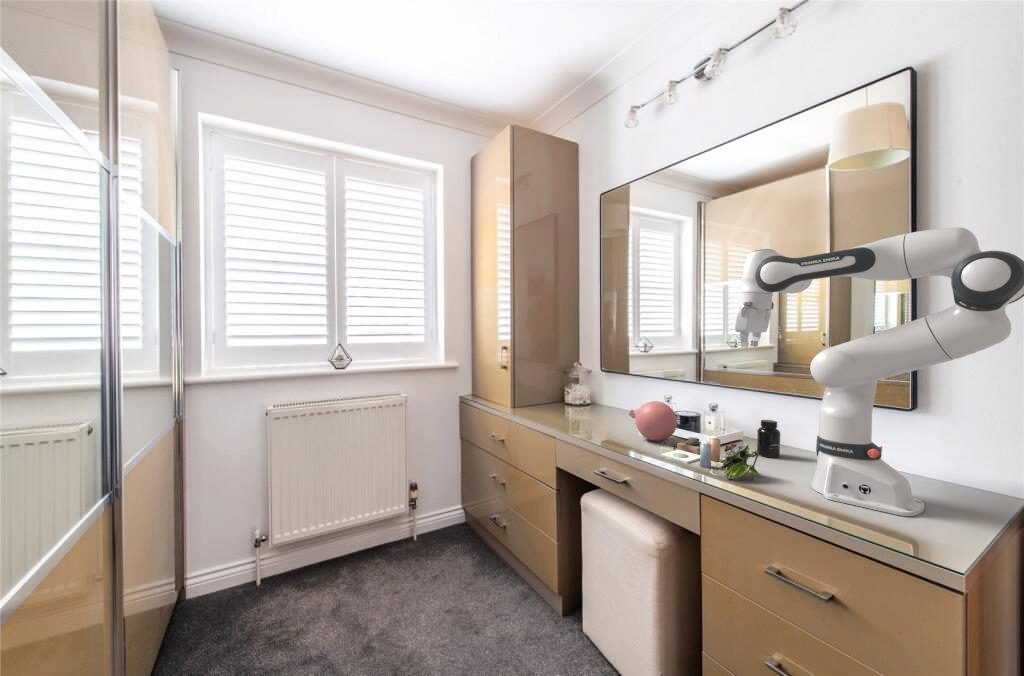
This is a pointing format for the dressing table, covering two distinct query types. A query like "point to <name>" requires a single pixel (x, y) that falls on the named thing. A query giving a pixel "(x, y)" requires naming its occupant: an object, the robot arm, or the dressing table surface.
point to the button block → (688, 447)
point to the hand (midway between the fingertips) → (749, 346)
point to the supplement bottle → (768, 439)
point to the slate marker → (705, 454)
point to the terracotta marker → (715, 448)
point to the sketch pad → (681, 456)
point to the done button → (693, 441)
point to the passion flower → (738, 461)
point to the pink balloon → (655, 420)
